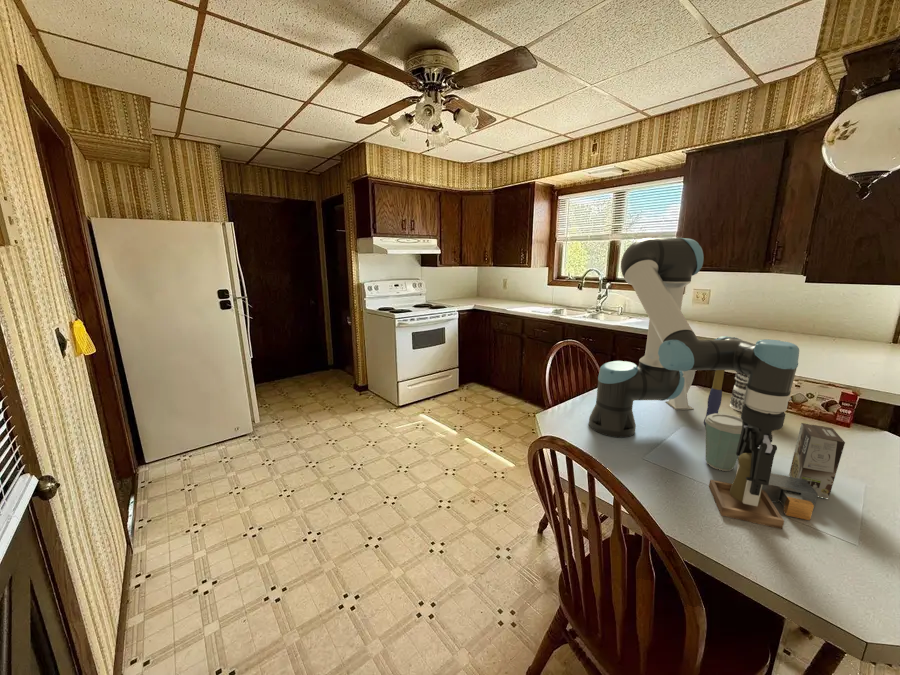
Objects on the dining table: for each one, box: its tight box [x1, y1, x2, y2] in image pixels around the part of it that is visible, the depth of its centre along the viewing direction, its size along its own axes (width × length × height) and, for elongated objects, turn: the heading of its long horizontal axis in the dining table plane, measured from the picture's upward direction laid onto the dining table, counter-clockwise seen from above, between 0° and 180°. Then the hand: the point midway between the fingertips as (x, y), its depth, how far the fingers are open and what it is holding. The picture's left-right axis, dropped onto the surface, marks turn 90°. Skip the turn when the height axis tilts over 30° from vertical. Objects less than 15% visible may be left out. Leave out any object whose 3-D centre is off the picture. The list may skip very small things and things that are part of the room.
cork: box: [730, 453, 761, 504], centre depth 88 cm, size 6×6×11 cm
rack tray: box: [708, 479, 785, 530], centre depth 90 cm, size 12×12×2 cm
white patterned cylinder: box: [729, 371, 749, 413], centre depth 142 cm, size 9×9×25 cm
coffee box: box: [788, 422, 846, 500], centre depth 96 cm, size 9×6×16 cm
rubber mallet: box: [703, 370, 726, 428], centre depth 126 cm, size 12×8×30 cm, turn 54°
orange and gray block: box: [778, 489, 815, 521], centre depth 91 cm, size 4×12×4 cm, turn 157°
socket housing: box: [761, 472, 818, 509], centre depth 93 cm, size 10×6×4 cm, turn 67°
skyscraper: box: [665, 370, 696, 411], centre depth 143 cm, size 8×8×28 cm
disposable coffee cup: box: [705, 412, 743, 472], centre depth 106 cm, size 11×11×15 cm
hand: (745, 495), depth 89 cm, fingers closed on cork, 6 cm apart
